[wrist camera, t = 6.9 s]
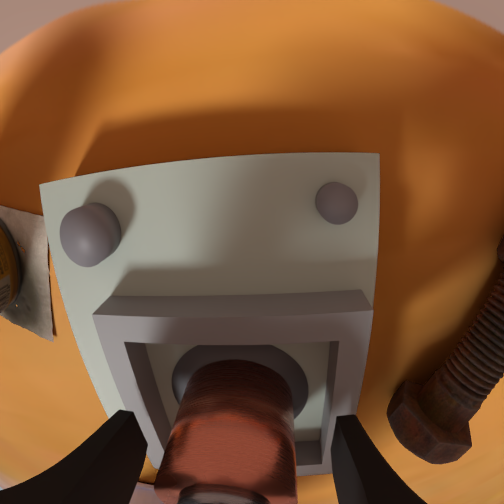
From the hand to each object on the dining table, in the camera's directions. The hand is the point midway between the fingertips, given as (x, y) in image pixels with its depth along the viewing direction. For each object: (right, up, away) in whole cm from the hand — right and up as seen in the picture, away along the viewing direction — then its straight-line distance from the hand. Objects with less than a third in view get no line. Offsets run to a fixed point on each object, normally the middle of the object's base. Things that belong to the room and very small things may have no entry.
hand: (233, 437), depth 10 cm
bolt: (+13, +4, +4) cm, 14 cm away
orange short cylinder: (0, 0, +2) cm, 2 cm away
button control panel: (-1, +3, +4) cm, 5 cm away
